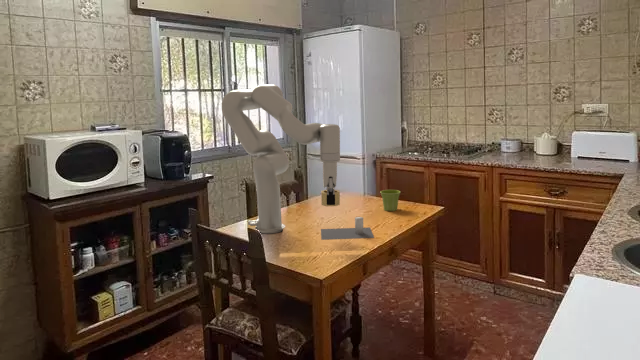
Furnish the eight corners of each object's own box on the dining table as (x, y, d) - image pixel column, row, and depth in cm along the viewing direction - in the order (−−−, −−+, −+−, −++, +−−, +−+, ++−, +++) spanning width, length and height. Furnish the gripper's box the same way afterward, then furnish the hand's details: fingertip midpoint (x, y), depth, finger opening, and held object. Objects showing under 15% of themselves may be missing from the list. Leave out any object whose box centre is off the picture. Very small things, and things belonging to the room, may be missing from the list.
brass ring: (321, 206, 193) (321, 193, 192) (321, 202, 200) (321, 189, 199) (340, 206, 193) (339, 193, 192) (339, 201, 200) (339, 189, 199)
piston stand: (321, 242, 192) (320, 224, 191) (320, 231, 206) (320, 214, 205) (374, 240, 192) (374, 222, 191) (370, 230, 206) (369, 213, 205)
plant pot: (376, 208, 240) (376, 191, 238) (393, 206, 244) (393, 188, 242) (387, 213, 231) (387, 194, 230) (404, 210, 235) (404, 192, 234)
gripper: (320, 153, 202) (320, 197, 205) (320, 160, 185) (321, 208, 188) (338, 153, 202) (339, 197, 205) (341, 160, 185) (341, 207, 188)
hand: (330, 202), depth 197 cm, fingers closed on brass ring, 7 cm apart
